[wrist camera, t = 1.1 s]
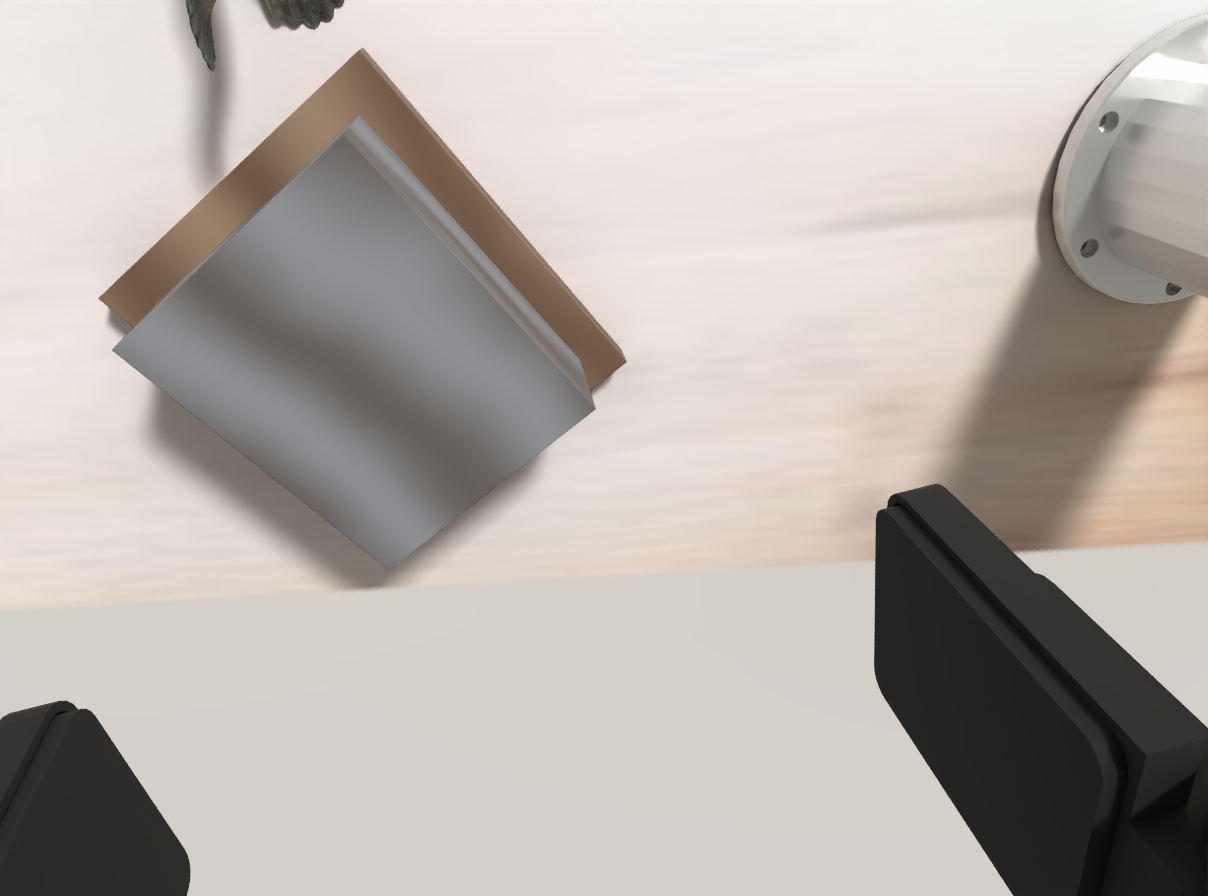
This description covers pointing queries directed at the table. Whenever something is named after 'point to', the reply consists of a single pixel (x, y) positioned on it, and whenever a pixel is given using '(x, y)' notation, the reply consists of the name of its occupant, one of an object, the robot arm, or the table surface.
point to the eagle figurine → (291, 3)
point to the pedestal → (364, 320)
